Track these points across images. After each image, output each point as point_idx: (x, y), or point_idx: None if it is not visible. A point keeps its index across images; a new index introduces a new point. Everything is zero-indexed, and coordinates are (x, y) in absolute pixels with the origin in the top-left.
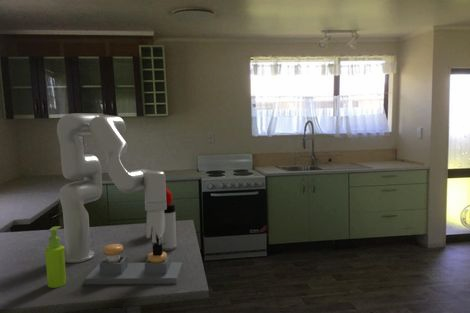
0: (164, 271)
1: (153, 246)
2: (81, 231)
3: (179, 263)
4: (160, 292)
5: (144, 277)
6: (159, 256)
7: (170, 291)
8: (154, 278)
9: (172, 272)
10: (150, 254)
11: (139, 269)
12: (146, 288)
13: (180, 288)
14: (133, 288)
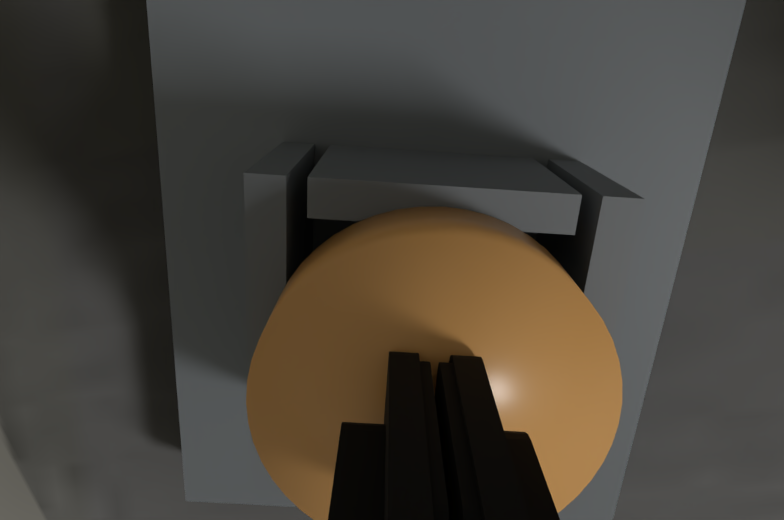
0: None
1: (388, 503)
2: None
3: (580, 500)
4: (3, 341)
5: (184, 154)
6: (332, 459)
7: (38, 423)
8: (168, 282)
9: None
10: (459, 285)
11: (464, 23)
12: (72, 188)
13: (107, 494)
14: (54, 29)
